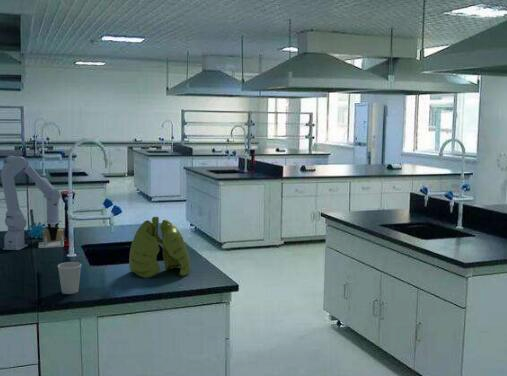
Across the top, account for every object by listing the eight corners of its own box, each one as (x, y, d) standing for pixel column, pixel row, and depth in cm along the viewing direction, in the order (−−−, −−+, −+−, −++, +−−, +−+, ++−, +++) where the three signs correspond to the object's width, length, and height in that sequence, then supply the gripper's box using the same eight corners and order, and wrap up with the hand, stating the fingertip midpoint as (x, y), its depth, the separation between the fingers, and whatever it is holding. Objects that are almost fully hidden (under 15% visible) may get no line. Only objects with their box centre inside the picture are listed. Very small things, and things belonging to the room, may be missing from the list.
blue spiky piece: (25, 236, 285) (29, 220, 291) (26, 242, 289) (30, 226, 295) (48, 238, 287) (51, 223, 293) (48, 244, 291) (52, 229, 298)
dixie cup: (67, 287, 207) (66, 260, 206) (86, 289, 205) (86, 263, 204) (53, 293, 200) (52, 266, 198) (73, 296, 197) (72, 268, 196)
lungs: (130, 280, 218) (130, 219, 215) (128, 269, 233) (128, 213, 230) (193, 276, 225) (193, 218, 222) (187, 266, 240) (188, 211, 237)
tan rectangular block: (63, 240, 286) (63, 228, 285) (63, 242, 282) (63, 230, 281) (42, 241, 282) (42, 229, 282) (42, 243, 279) (42, 231, 278)
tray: (68, 242, 281) (68, 234, 280) (69, 246, 272) (69, 238, 271) (38, 243, 276) (38, 235, 276) (38, 248, 267) (38, 240, 266)
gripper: (61, 214, 275) (61, 241, 277) (60, 209, 288) (61, 235, 290) (46, 214, 272) (46, 242, 274) (46, 210, 286) (47, 236, 288)
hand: (53, 238), depth 282 cm, fingers open, 7 cm apart
